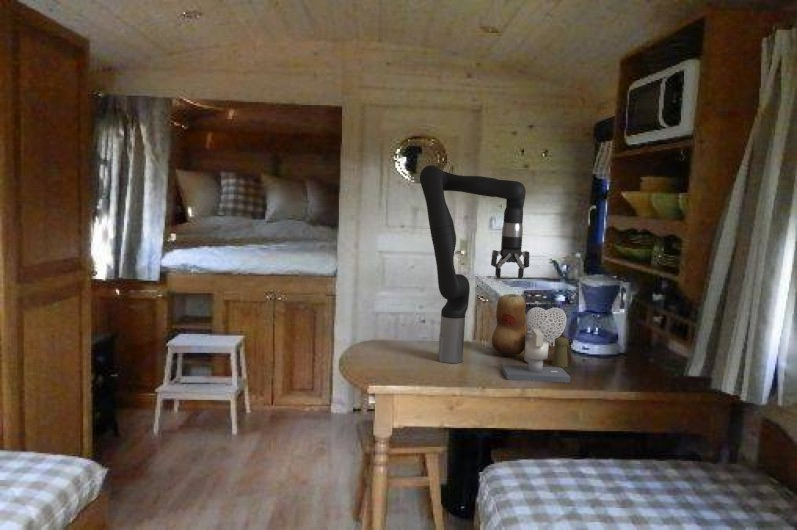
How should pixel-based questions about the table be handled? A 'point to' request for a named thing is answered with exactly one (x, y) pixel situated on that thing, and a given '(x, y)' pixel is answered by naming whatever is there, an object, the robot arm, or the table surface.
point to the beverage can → (527, 338)
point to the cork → (560, 352)
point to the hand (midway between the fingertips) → (509, 278)
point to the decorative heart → (548, 324)
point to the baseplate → (535, 372)
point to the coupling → (536, 346)
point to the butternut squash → (510, 325)
